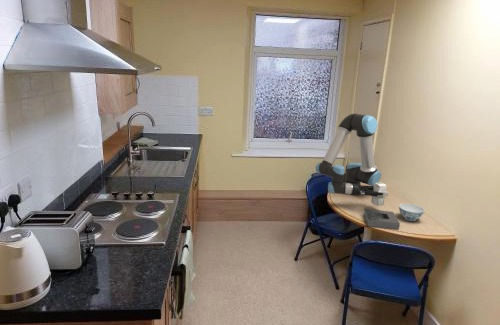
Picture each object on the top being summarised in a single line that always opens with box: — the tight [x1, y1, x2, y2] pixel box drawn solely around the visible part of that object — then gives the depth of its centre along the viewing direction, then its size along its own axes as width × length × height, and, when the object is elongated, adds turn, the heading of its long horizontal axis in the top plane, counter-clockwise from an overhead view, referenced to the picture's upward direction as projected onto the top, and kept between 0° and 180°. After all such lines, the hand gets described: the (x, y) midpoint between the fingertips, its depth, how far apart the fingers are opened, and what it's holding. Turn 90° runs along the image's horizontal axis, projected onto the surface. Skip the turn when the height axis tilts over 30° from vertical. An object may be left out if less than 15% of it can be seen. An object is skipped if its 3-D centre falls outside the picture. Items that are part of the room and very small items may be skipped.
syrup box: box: [370, 182, 387, 207], centre depth 232 cm, size 6×6×14 cm
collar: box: [363, 208, 401, 230], centre depth 217 cm, size 18×18×4 cm
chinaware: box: [398, 202, 425, 222], centre depth 223 cm, size 15×15×8 cm
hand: (386, 192), depth 231 cm, fingers closed on syrup box, 7 cm apart
